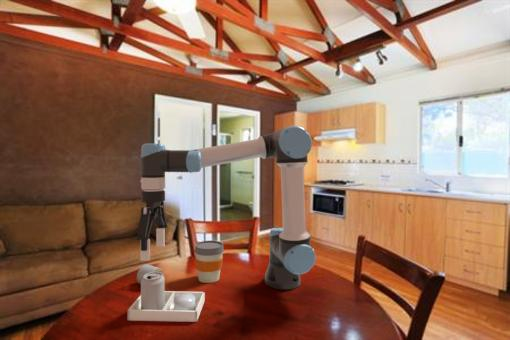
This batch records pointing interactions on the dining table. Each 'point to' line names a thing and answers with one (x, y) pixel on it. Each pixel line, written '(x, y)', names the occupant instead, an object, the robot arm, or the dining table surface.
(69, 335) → the dining table surface
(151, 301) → the can
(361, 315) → the dining table surface
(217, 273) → the reusable coffee cup
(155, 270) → the ceramic mug
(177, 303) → the white dome
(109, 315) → the dining table surface
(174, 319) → the caddy
